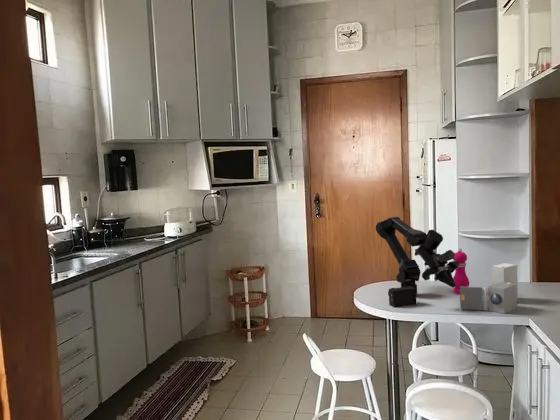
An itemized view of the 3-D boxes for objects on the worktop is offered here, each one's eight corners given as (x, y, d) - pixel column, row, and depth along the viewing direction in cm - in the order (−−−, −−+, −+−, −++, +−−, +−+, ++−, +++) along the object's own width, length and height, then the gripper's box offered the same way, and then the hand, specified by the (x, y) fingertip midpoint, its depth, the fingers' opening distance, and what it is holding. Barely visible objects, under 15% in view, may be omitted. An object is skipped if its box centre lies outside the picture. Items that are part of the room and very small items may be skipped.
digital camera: (410, 301, 196) (409, 285, 196) (416, 304, 191) (416, 288, 191) (387, 304, 194) (387, 288, 194) (393, 307, 189) (393, 290, 188)
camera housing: (486, 311, 176) (486, 285, 176) (501, 305, 183) (500, 280, 182) (502, 314, 171) (501, 287, 171) (516, 308, 178) (516, 282, 177)
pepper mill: (466, 290, 208) (465, 246, 207) (471, 294, 201) (470, 249, 200) (450, 290, 209) (449, 247, 208) (454, 294, 202) (453, 250, 201)
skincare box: (506, 297, 194) (505, 262, 193) (519, 300, 189) (518, 264, 188) (492, 300, 190) (491, 265, 189) (505, 303, 185) (504, 267, 184)
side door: (487, 309, 177) (486, 287, 177) (487, 310, 176) (486, 288, 175) (460, 308, 181) (460, 286, 181) (460, 309, 180) (459, 287, 179)
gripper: (426, 247, 181) (452, 278, 173) (454, 241, 192) (480, 270, 183) (411, 264, 188) (435, 295, 179) (439, 258, 199) (463, 287, 190)
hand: (454, 286), depth 183 cm, fingers closed
